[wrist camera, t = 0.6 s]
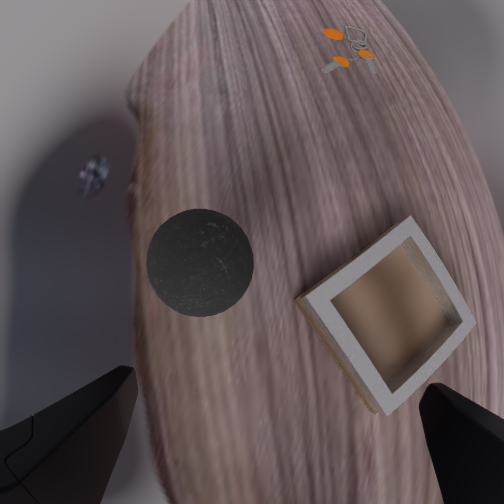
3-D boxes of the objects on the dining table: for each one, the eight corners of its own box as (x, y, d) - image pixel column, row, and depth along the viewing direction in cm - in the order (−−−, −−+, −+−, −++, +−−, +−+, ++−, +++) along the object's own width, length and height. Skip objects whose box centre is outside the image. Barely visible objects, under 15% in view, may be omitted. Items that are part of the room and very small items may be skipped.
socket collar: (376, 410, 20) (387, 416, 18) (299, 299, 22) (305, 296, 20) (462, 324, 22) (476, 322, 20) (399, 223, 24) (410, 215, 22)
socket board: (370, 411, 21) (375, 414, 20) (293, 300, 23) (295, 298, 22) (457, 325, 23) (464, 324, 22) (394, 224, 25) (399, 220, 24)
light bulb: (195, 235, 24) (169, 172, 14) (261, 266, 24) (277, 219, 14) (161, 300, 23) (110, 276, 13) (229, 334, 22) (222, 336, 13)
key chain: (322, 21, 33) (323, 16, 32) (372, 35, 33) (374, 31, 32) (316, 73, 30) (317, 68, 29) (378, 91, 30) (380, 86, 29)
